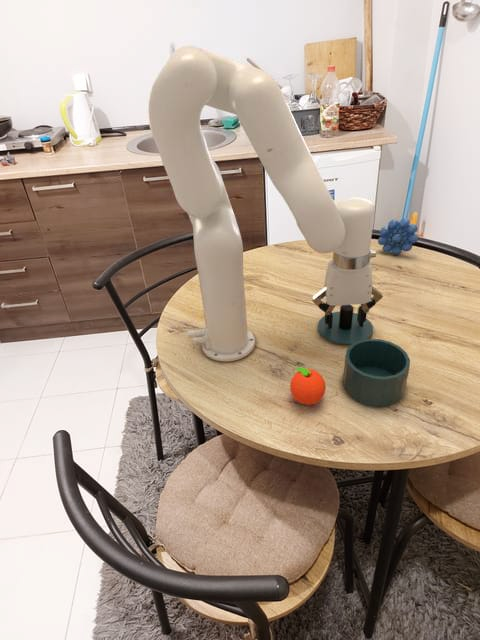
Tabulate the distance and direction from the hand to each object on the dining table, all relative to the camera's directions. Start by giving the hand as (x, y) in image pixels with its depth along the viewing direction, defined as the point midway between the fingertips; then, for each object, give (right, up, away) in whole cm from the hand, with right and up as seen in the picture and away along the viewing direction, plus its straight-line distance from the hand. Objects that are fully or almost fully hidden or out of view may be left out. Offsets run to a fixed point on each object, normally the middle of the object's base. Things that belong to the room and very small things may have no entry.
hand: (344, 324), depth 102 cm
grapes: (+24, +22, +31) cm, 45 cm away
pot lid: (0, -1, +1) cm, 1 cm away
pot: (+2, -13, -14) cm, 19 cm away
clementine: (-12, -15, -16) cm, 25 cm away
